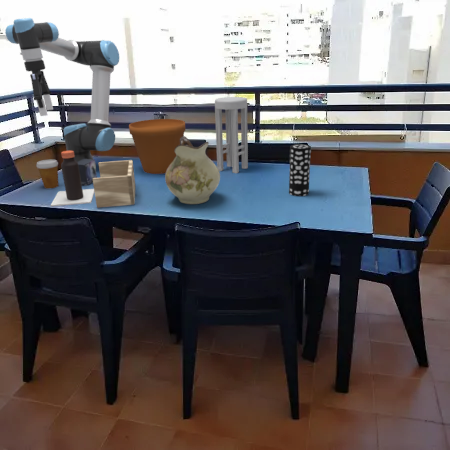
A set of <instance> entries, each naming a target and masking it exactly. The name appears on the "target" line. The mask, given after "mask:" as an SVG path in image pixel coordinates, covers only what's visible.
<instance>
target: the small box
mask: <svg viewBox="0 0 450 450" xmlns="http://www.w3.org/2000/svg"><path fill="white" fill-rule="evenodd" d="M95 164H96V159H94V158H93V159H82V160H80V161H78V166H79V172H80V178H81V184H82V187H87V186H90V185H91V184H93V178H98V175H97V173H98V172H97V164H96V165H95Z"/></svg>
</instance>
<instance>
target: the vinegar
mask: <svg viewBox="0 0 450 450" xmlns="http://www.w3.org/2000/svg"><path fill="white" fill-rule="evenodd" d="M60 152H61V158H62V160H63V161H62V162H61V165H60V167H61V172H62V173H61V174H62V177H63V183H64V188H65V190H64V191H66V196H67V199H68V200H78V199H81V198H83V190H84V189H83V186H82V184H81V178H80V172H79V166H78V162H76V161H75V160H74V158H75V157H74V151H67V150H63V151H60Z"/></svg>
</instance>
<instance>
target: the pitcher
mask: <svg viewBox="0 0 450 450" xmlns="http://www.w3.org/2000/svg"><path fill="white" fill-rule="evenodd" d="M179 141H180V145H178V146H177V147H175V150H174V152H175V153H176V157H175V158H174V160H173V162H172V163H171V164H170V165H169V167H168V169H167V171H166V173H164V176H165V177H164V180H165V185H166V186H167V189H168V190H169V191H170V193H172V195H174V196H175V197H176V198H178V201H179V202H180V203H182V204H186V205H198V204H199V205H200V204H203V203H206V202H208V201H209V200H210V196H211V195H212V194H213V193H214V192H215V190H216V189H217V188H218V186H219V185H220V181H221V174H220V173H221V171H219V170H218V168H217V164H215V162H214V161H213V160H211V158H209V156H208V155H207V154H206V149H207V148H208V146H209V144H210V142H209V141H206V142H204V143H202V144H201V145H200V146H193V145H194V144H192V142H191V140H189V138H187V136H182V137H181V138H180V140H179Z"/></svg>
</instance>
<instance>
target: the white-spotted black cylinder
mask: <svg viewBox="0 0 450 450" xmlns="http://www.w3.org/2000/svg"><path fill="white" fill-rule="evenodd" d="M311 147H312V146H311V145H309V144H303V143H301V144H300V143H299V144H298V143H297V144H292V145H290V147H289V177H288V179H289V180H288V181H289V183H288V194H289V195H291V196H294V197H305V196H308V195H309V194H310V176H311V175H310V172H311V171H310V170H311V153H312V150H311V149H312V148H311Z"/></svg>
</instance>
